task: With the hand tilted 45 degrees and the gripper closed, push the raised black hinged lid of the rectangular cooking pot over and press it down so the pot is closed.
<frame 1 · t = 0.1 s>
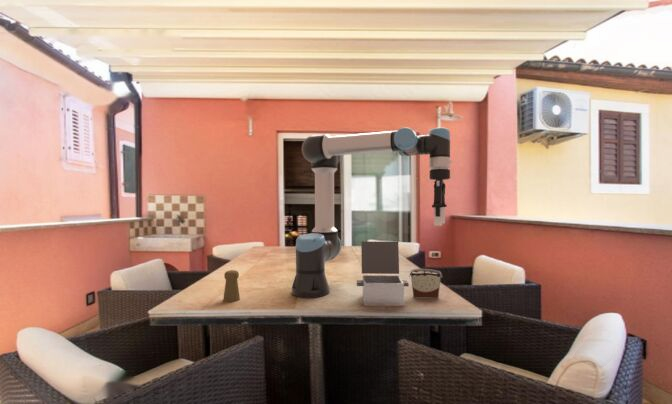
hand: (439, 224, 123), 28 cm above the table, tool pointing down, fingers open, 13 cm apart
food container: (424, 296, 125), on the table
cork: (231, 300, 121), on the table
rectangular cooking pot: (382, 300, 119), on the table
pot lid: (380, 257, 126), point 15 cm above the table, hinge at 100.0°
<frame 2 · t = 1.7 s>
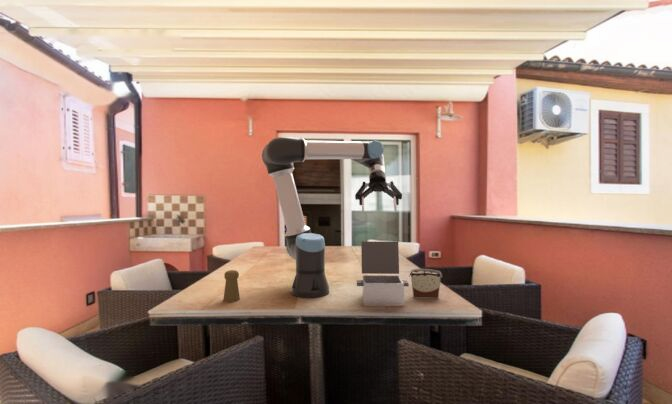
hand: (379, 209, 134), 33 cm above the table, tool tilted 45°, fingers open, 13 cm apart
nothing on the table moved.
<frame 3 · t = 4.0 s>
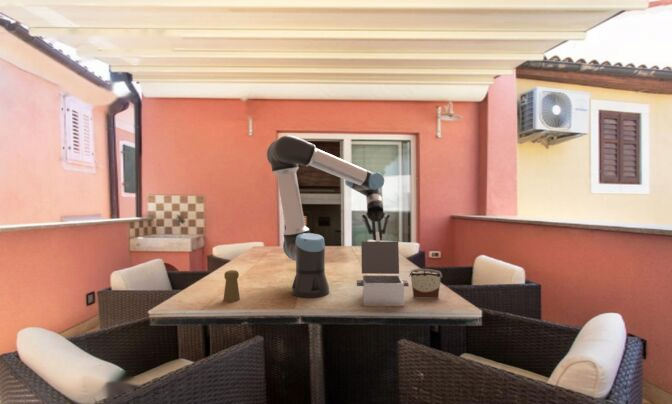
hand: (378, 245, 135), 18 cm above the table, tool tilted 45°, fingers closed
nothing on the table moved.
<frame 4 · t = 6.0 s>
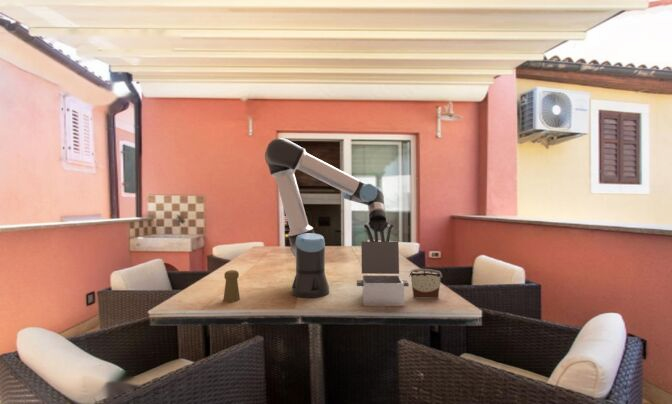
hand: (381, 258, 128), 14 cm above the table, tool tilted 45°, fingers closed
pot lid: (380, 257, 126), point 15 cm above the table, hinge at 98.7°, touching gripper
everything else where it was.
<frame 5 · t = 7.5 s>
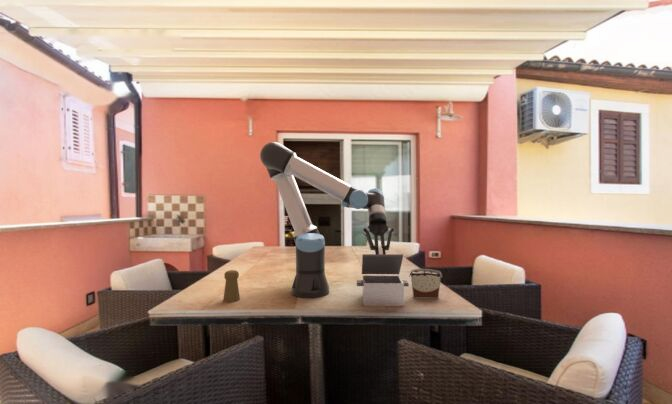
hand: (381, 263, 122), 13 cm above the table, tool tilted 45°, fingers closed
pot lid: (381, 264, 121), point 13 cm above the table, hinge at 43.6°, touching gripper
everything else where it was.
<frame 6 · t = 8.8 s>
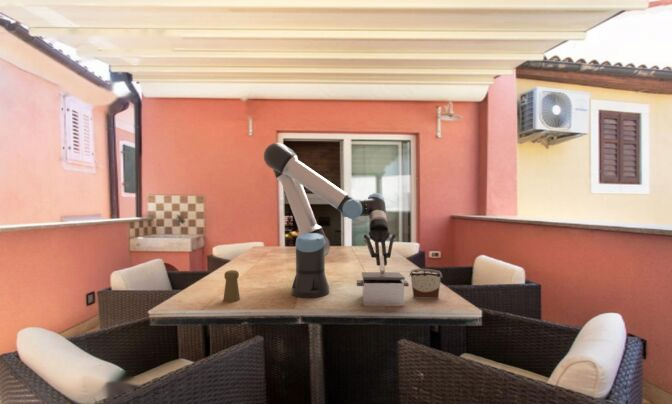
hand: (382, 272, 117), 11 cm above the table, tool tilted 45°, fingers closed
pot lid: (382, 275, 119), point 9 cm above the table, hinge at 4.6°
everything else where it was.
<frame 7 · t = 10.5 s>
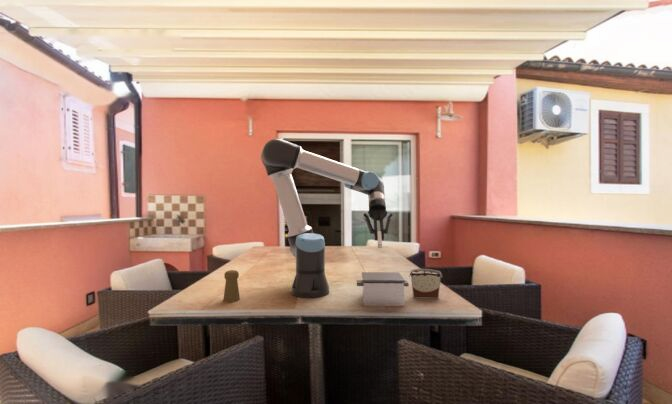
hand: (379, 245, 128), 19 cm above the table, tool tilted 45°, fingers closed
pot lid: (382, 277, 119), point 9 cm above the table, hinge at -0.1°
everything else where it was.
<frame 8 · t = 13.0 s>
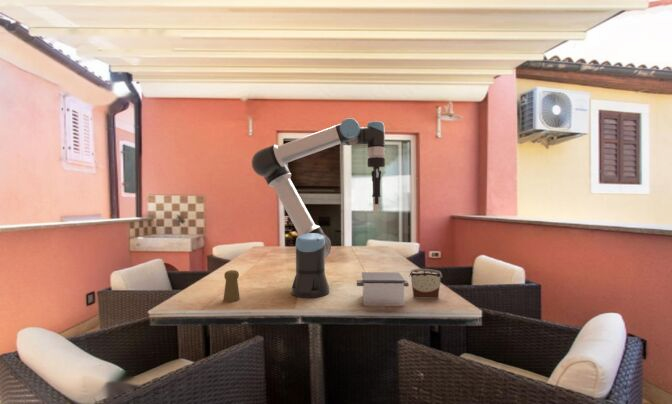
hand: (376, 211, 139), 32 cm above the table, tool pointing down, fingers closed
nothing on the table moved.
at the end: pot lid at +0° (first picture: +100°); food container moved 0.2 cm from its start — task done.
